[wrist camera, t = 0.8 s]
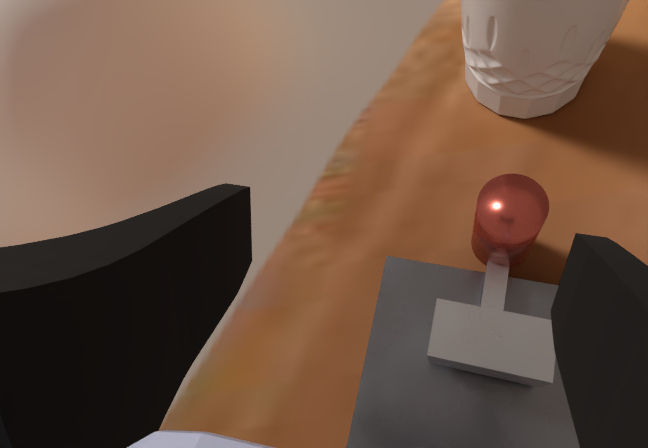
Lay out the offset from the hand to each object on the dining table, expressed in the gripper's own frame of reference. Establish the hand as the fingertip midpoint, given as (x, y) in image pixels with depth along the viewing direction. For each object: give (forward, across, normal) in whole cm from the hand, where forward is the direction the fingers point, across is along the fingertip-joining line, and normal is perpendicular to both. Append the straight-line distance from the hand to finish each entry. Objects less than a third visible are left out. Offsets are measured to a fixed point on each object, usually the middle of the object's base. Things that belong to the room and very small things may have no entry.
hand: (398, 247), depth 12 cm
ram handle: (+12, -4, +9) cm, 15 cm away
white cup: (+23, -5, +1) cm, 24 cm away
